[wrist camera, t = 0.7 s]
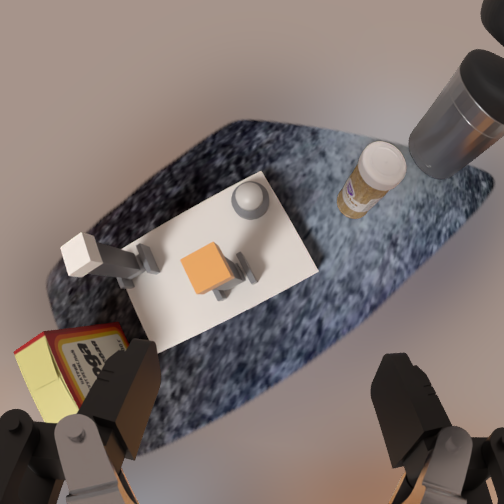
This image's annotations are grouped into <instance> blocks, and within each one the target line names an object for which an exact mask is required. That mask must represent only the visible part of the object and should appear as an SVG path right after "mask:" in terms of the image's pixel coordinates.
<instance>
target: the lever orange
mask: <svg viewBox="0 0 504 504" xmlns="http://www.w3.org/2000/svg"><path fill="white" fill-rule="evenodd" d="M180 261H181V263H182V265H183V267H184V269H185V272H186V274H187V276H188V278H189V280H190V282H191V284H192V286H193V288H194V290H195V292H196V294H205V293H207V292H209V291H211V290H224V291H227V290H229V289H231V288H233V287H235V286H237V285H238V284H240V283H242V282H244V281H246V278H245V276H244V274H243V272H242V270H241V268H240V267H239V265H238V264H237V263H235V264H234V262H232V261H231V260H229V259H228V258H226V257H225V256H224V255H223V253H222V251H221V249H220V247H219V246H218V245H217V244H216V243H215V242H211V243H209V244H208V245H206V246H204V247H202V248H200V249H199V250H197V251H195V252H193V253H191V254H189V255H188V256H186V257H184V258H182V259H180Z"/></svg>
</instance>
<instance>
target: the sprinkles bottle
mask: <svg viewBox="0 0 504 504" xmlns="http://www.w3.org/2000/svg"><path fill="white" fill-rule="evenodd" d="M405 174H406V161H405V158H404V156H403V155H402V153H401V152H400V151H399V150H398V149H397V148H396V147H395V146H394V145H392V144H390V143H387V142H384V141H376V142H373V143H370V144H369V145H368V146H367V147H366V148H365V149H364V151H363V152H362V154H361V156H360V158H359V161H358V164H357V166H356V168H355V169H354V171H353V173H352V174H351V175H350V177H349V178H348V180H347V181H346V183H345V185H344V187H343V189H342V190H341V191H340V192H339V194H338V197H337V205H338V208H339V210H340V211H341V213H343V214H344V215H345V216H346V217H349V218H353V219H357V218H361V217H363V216H364V215H365V214H366V213H367V212H368V210H370V209H371V208H372V207H373V206H374V205H375V204H376V203H377V202H378V201H379V200H380V199H382V198H383V197H384V196H385V195H386V193H387V192H388V191H389V190H391V189H393V188H395V187H396V186H397V185H398V184H399V183H400V182H401V181H402V180H403V178H404V176H405Z"/></svg>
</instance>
